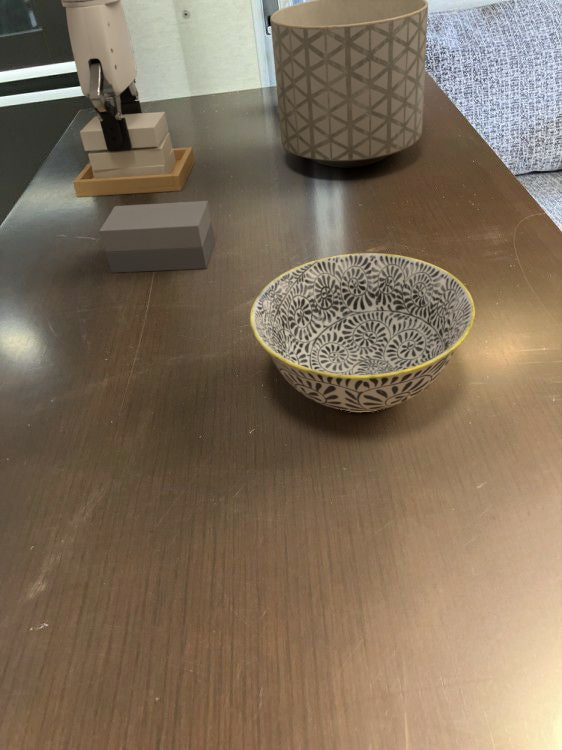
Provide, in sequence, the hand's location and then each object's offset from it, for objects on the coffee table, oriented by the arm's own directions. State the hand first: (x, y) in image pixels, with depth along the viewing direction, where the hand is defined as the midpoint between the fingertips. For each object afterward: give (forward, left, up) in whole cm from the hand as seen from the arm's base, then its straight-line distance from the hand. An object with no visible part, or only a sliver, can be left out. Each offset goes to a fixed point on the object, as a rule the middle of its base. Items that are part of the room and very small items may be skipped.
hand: (127, 139), depth 85 cm
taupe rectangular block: (0, 0, -6) cm, 5 cm away
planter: (+30, +3, -6) cm, 31 cm away
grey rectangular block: (+9, -23, -6) cm, 26 cm away
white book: (0, 0, 0) cm, 0 cm away
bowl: (+30, -46, -6) cm, 55 cm away
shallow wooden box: (0, 0, -6) cm, 5 cm away
